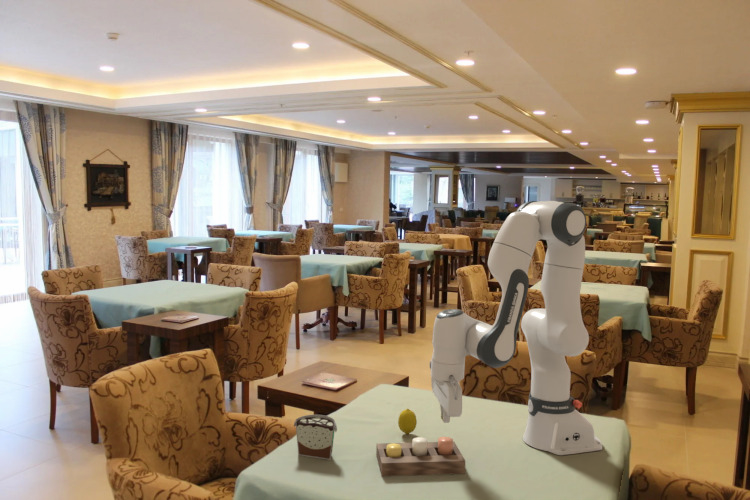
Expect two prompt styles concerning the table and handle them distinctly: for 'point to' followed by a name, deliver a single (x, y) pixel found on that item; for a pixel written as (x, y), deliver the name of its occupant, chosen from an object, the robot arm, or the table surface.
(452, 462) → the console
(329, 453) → the food container
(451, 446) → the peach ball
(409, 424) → the lemon
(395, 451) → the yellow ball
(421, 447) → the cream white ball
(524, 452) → the table surface
